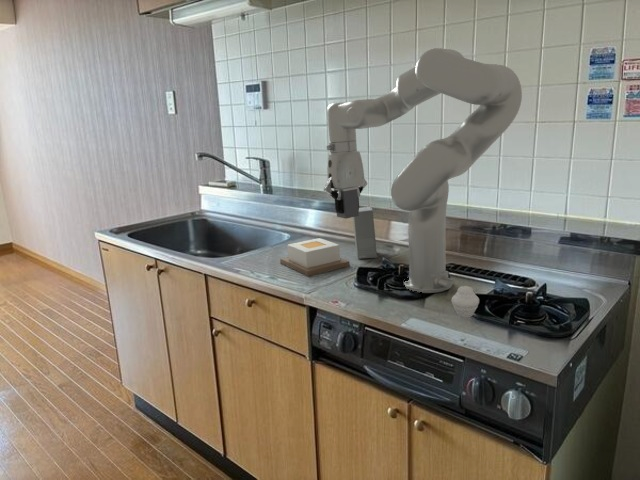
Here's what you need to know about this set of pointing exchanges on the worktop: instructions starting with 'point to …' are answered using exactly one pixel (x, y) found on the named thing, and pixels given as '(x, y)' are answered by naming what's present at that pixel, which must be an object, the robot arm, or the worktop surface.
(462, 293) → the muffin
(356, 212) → the plug
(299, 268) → the socket
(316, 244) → the plate
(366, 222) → the skincare box
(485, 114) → the robot arm
